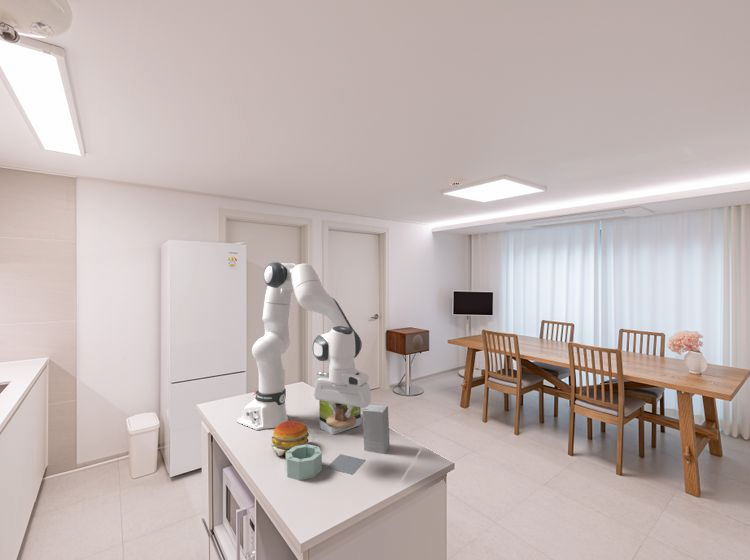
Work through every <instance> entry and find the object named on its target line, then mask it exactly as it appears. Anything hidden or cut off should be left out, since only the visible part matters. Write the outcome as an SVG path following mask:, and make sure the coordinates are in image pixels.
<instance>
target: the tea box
mask: <svg viewBox="0 0 750 560" xmlns="http://www.w3.org/2000/svg"><path fill="white" fill-rule="evenodd" d="M318 401H319V404H318V405H319V428H320V429H321V430H322V431H325V432H327V433H329V434H330V435H332V436H333V435H336V434H340V433H343V432H345V431H348V430H350V429H353V428H357V427H361V426H362V423H361V421H362V420H361V419H362V418H361V414H362V413H361V407H356V406H354V407H353V408H352V410H351V411H350V415H353V416H355V417H356V424H355V425H353V426H351V427H348V428H333V427H330V426H328V425H327V423H326V420H327V418H328V417H329V416H331V415H333V410H332V409H331V406H330V402H328V401H322V400H318ZM335 405H336V407H338V406H339V405H341V406H347V405H345V404H339V403H336V404H335Z"/></svg>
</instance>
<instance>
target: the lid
mask: <svg viewBox="0 0 750 560" xmlns="http://www.w3.org/2000/svg"><path fill="white" fill-rule="evenodd" d="M347 410H348V408H347V406H341V405H339V406H338V407H336V408H335V415H331V416H329V417H328V418H327V420H326V423H327V425H328V426H330V427H333V428H348V427H351V426H353V425H355V424H356V417H355V416H353V415H350V417H349V418H346V417H344V412H346V411H347Z"/></svg>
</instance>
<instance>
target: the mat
mask: <svg viewBox="0 0 750 560" xmlns="http://www.w3.org/2000/svg"><path fill="white" fill-rule="evenodd" d="M366 461H367V460H366V459H364V458H360V457H355V456H350V455H346V454H343V453H339V454H338V456H337V457H336V458H335V459H334V460H332V461H331V463H329V464H328V465H327V466H325V469H329V470H333V471H336V472H340V473H344V474H347V475H352V476H353V475H354V474H355V473H356V472H357V471H358V470H359V469H360V467H361V466H362V465H363V464H364V463H365V462H366Z"/></svg>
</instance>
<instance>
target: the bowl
mask: <svg viewBox="0 0 750 560" xmlns="http://www.w3.org/2000/svg"><path fill="white" fill-rule="evenodd" d="M322 455H323V452H322V450H321V448H320V446H318V445H317V446H316V445H313V444H309V443H307V444H305V445H299V446H294V447H293V448H291V449H290V450H288V451H287V452H286V455H285V472H286V477H287V478H289V479H293V480H297V481H303V480H308V479H312V478H315V477H316V476H317V475H319V473H320V472H321V471H322V470H323V467H322V466H323V464H322V463H323V462H322V461H323V456H322Z"/></svg>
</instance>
